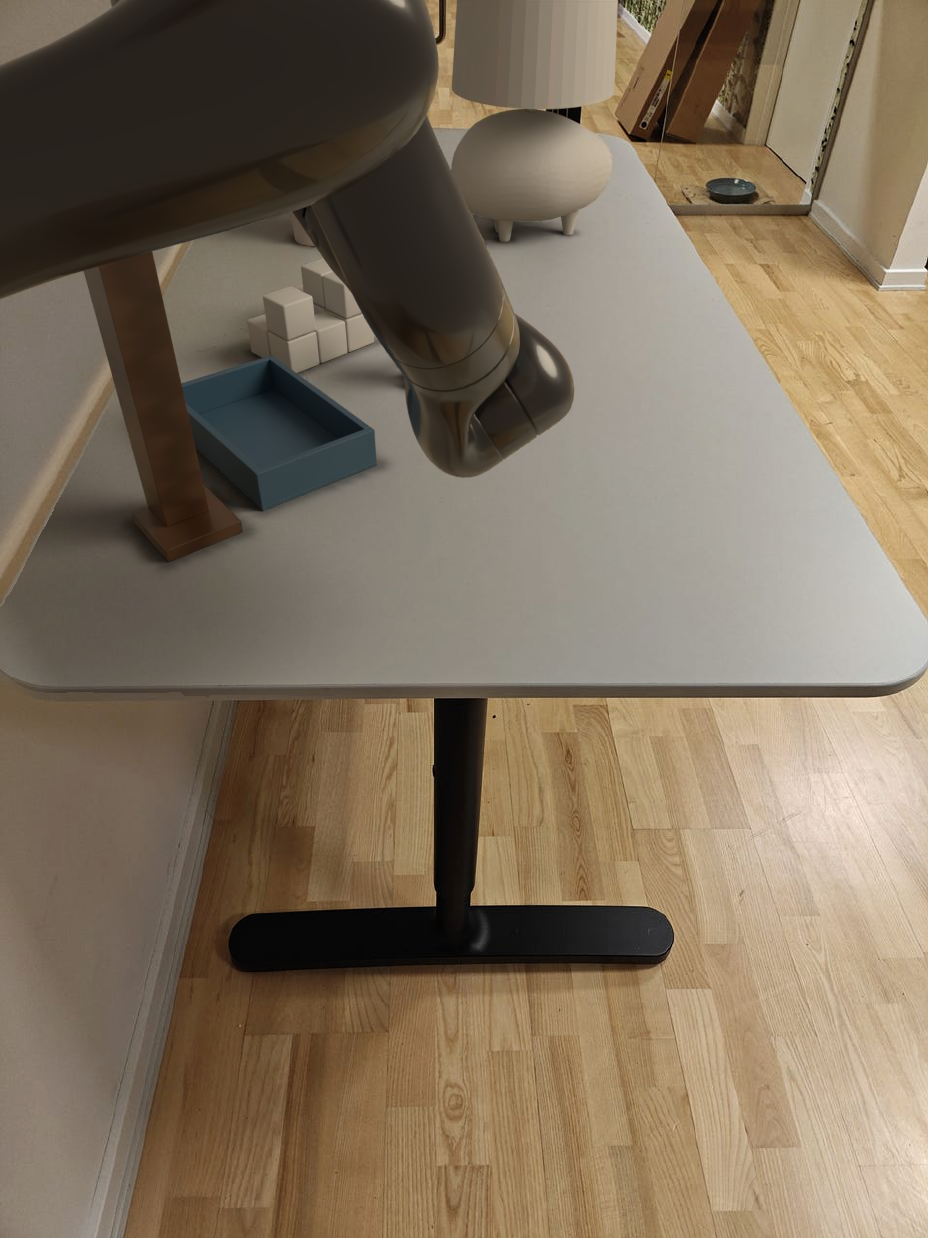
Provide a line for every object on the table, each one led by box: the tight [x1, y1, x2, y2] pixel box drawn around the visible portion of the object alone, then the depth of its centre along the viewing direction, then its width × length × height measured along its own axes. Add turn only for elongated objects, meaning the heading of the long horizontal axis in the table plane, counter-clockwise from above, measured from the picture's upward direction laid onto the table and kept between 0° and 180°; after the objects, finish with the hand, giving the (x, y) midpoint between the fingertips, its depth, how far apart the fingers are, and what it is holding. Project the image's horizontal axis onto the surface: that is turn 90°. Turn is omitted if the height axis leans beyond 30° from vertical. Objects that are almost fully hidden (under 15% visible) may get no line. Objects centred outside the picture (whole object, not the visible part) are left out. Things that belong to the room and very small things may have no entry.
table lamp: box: [450, 0, 619, 243], centre depth 121 cm, size 23×22×40 cm
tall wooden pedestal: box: [83, 251, 244, 563], centre depth 69 cm, size 7×7×35 cm
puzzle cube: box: [246, 257, 375, 374], centre depth 105 cm, size 12×12×8 cm
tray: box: [181, 355, 378, 512], centre depth 89 cm, size 19×12×4 cm, turn 38°
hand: (232, 25), depth 64 cm, fingers closed
